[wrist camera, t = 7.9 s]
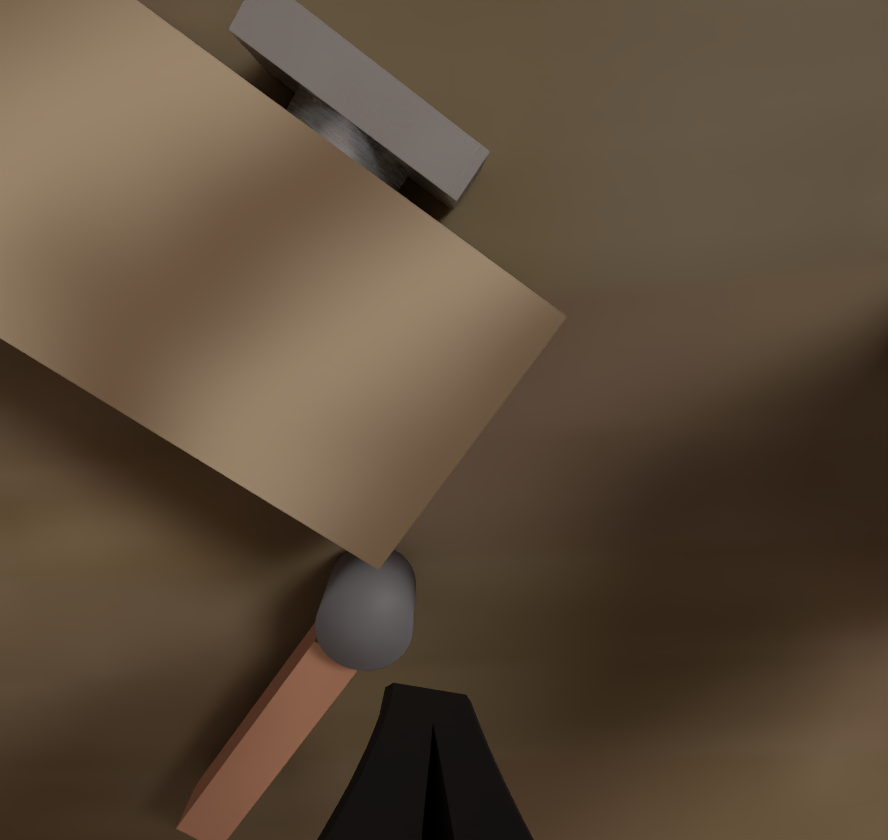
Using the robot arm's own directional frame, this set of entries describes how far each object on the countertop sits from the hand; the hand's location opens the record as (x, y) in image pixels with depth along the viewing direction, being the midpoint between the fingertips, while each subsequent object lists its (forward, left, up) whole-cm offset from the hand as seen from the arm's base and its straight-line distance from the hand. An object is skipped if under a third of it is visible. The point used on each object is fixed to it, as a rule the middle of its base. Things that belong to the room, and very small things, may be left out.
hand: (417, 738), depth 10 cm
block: (+7, -4, -9) cm, 12 cm away
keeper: (0, +7, -8) cm, 11 cm away
